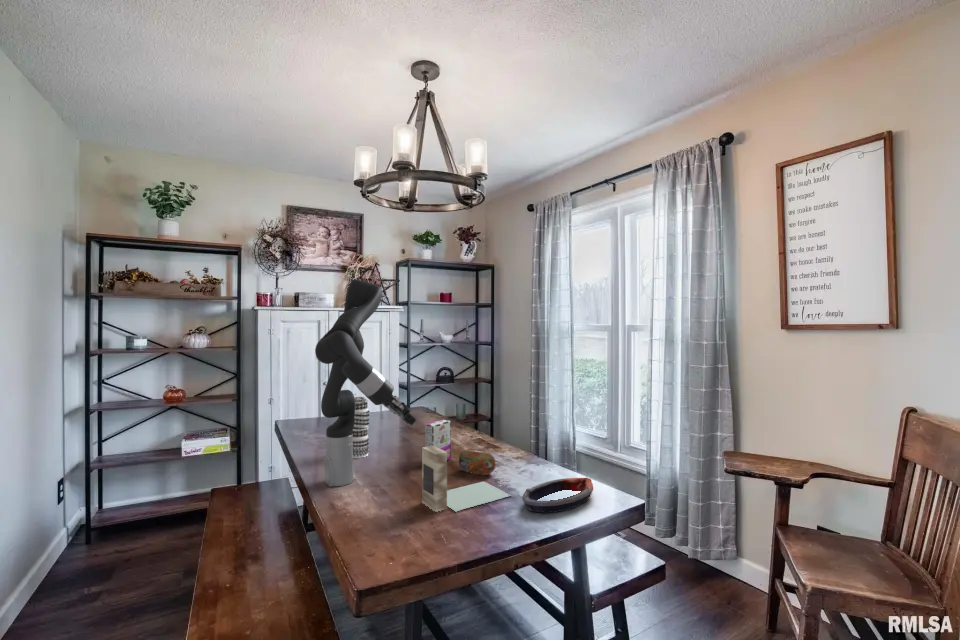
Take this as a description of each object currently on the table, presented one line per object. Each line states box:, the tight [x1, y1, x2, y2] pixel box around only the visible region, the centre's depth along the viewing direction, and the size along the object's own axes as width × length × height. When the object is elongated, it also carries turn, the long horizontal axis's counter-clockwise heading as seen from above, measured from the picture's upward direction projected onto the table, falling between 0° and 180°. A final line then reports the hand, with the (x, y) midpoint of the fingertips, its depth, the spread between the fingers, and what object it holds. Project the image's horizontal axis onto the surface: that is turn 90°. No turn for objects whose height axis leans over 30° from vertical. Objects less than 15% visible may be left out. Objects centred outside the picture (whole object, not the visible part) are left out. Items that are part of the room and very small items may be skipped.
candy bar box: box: [424, 419, 452, 461], centre depth 190 cm, size 11×5×16 cm, turn 143°
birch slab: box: [421, 446, 448, 513], centre depth 146 cm, size 4×9×18 cm, turn 35°
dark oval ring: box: [521, 477, 594, 513], centre depth 150 cm, size 16×31×5 cm, turn 126°
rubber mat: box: [447, 481, 512, 513], centre depth 154 cm, size 22×16×1 cm
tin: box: [458, 449, 496, 476], centre depth 177 cm, size 15×3×8 cm, turn 62°
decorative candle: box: [353, 396, 371, 459], centre depth 199 cm, size 9×9×25 cm
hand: (411, 421), depth 141 cm, fingers closed
